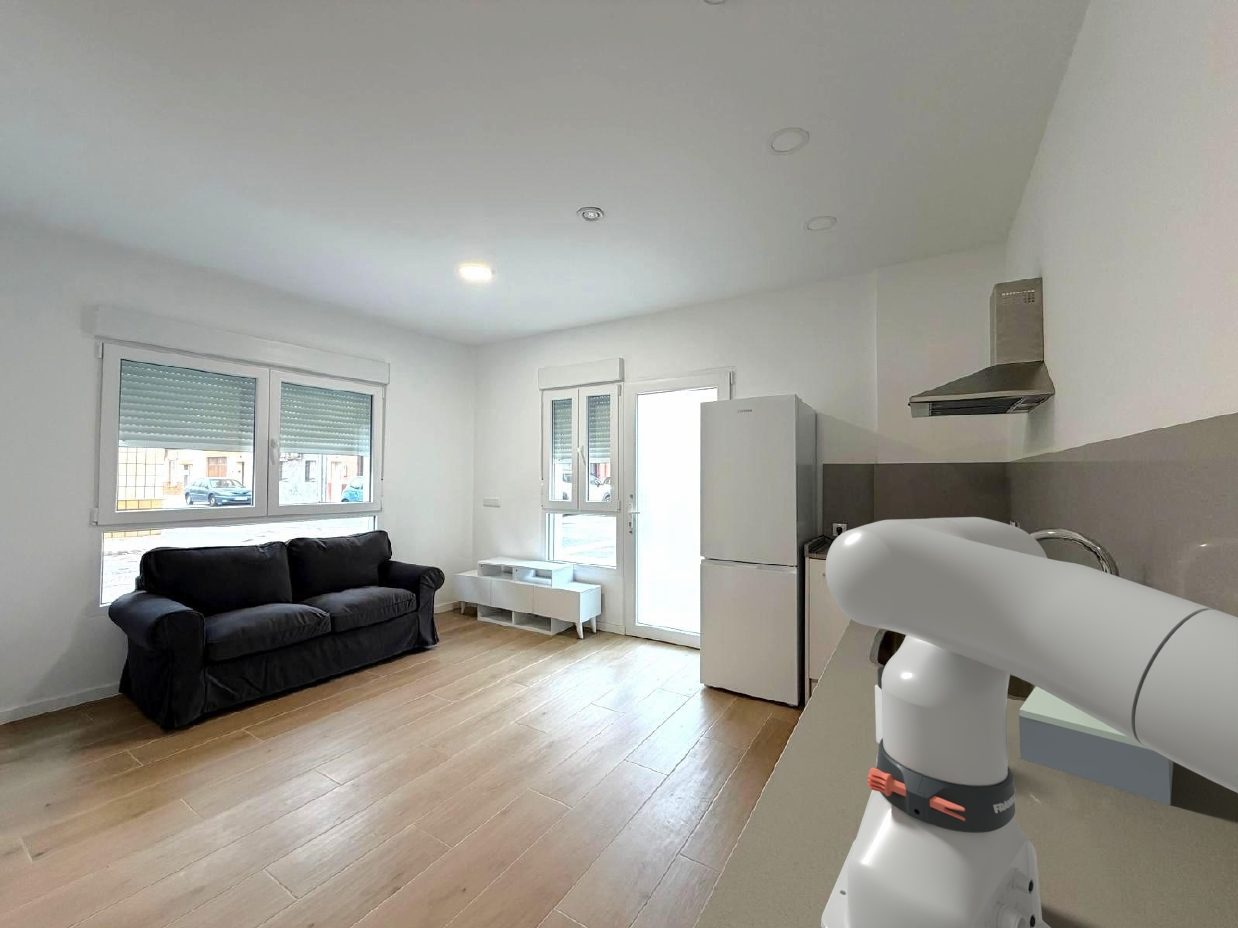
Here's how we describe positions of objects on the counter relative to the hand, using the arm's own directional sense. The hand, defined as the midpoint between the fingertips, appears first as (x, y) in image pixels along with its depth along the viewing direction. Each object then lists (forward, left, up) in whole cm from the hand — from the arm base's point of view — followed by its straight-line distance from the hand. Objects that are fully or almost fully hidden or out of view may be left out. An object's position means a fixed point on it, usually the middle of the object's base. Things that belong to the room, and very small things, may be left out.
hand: (1113, 660), depth 79 cm
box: (0, +3, -16) cm, 16 cm away
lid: (0, +3, -10) cm, 11 cm away
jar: (-18, +24, -16) cm, 34 cm away
